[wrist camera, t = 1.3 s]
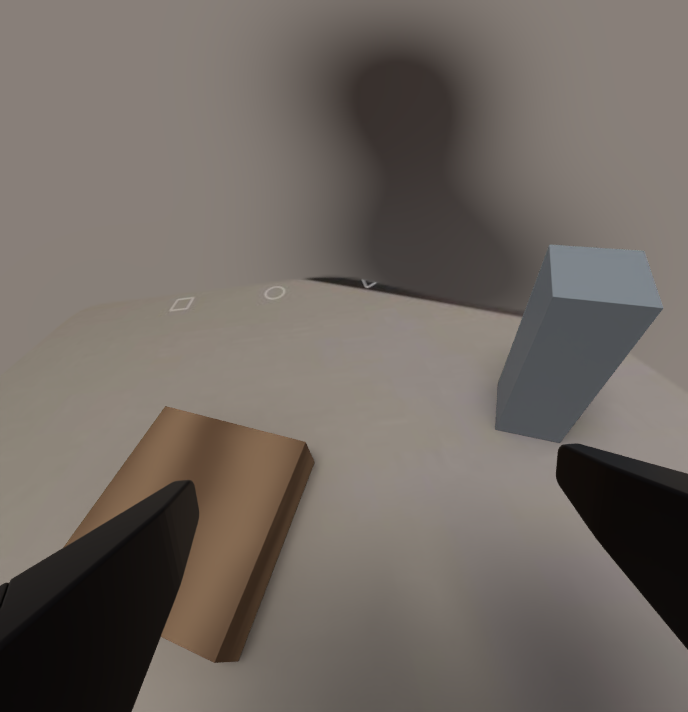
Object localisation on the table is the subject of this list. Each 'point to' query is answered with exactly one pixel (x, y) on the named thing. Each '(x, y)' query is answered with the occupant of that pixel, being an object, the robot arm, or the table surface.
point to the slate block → (573, 337)
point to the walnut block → (215, 519)
